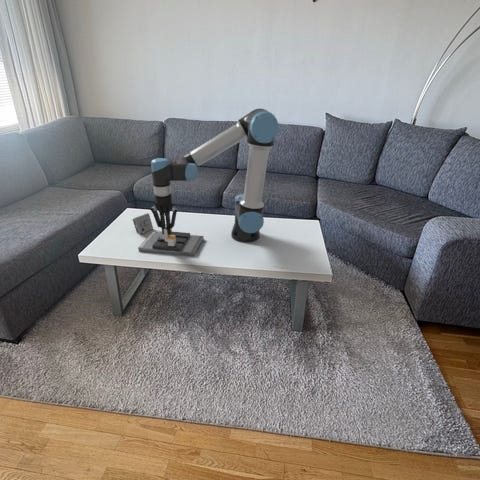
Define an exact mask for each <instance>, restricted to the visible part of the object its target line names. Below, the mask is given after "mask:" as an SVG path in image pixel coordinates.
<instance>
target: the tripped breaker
mask: <svg viewBox="0 0 480 480" xmlns="http://www.w3.org/2000/svg"><path fill="white" fill-rule="evenodd" d="M167 240H168V246H175V244H176V235H169V236H168V237H167Z"/></svg>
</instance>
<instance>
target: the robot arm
mask: <svg viewBox="0 0 480 480" xmlns="http://www.w3.org/2000/svg"><path fill="white" fill-rule="evenodd" d="M279 129H280V127H279V122H278V119H277V117H276V116H275V115H274V113H272V112H270V111H268V110H267V109H265V108H255V109H253V110H251V111H250V112H248V113H246V115H244V116H243V117H241V118H239V119H237V121H236V124H234V125H232V126H231V127H229V128H227V129H226V130H224V131H222V132H221V133H219V134H217V135H216V136H214V137H213V138H211V139H210V140H208V141H206V142H204V143H203V144H201V145H199V146H198V147H196V148H195V149H193V150H191V151H189V152H188V153H186V154H182V155H180V156H179V157H178V159H177V161H176V163H170V162H169V159H168V158H163V157H157V158H154V159H152V160H151V162H150V163H151V164H150V165H151V166H150V167H151V171H150V172H151V176H152V186H153V187H152V188H153V194H154V205H153V206H152V207H150V211H151V213H152V215H153V218H154V220H155V223H156V226H157V228H160V229H162V234H164V237H165V242H168V240H167V237H168V236H169V235H170V234H171V228H172V229H173V228H174V227H175V224H176V217H177V212H179V208H178V207H175V206H174V204H173V197H172V185H171V182H192V181H193V182H194V181H197V180H198V167H199V166H201V165H203V164H204V163H206V162H208V161H210V160H212V159H213V158H215V157H217V156H218V155H220V154H221V153H223V152H225V151H226V150H229V149H230V148H231V147H234V146H235V145H237V144H238V143H240V142H242V141H244V140H246V144H247V145H248V146H249V151H248V158H247V167H246V174H245V182H244V191H243V193H239V194H237V195H236V196H235V197H234V224H233V226H232V229H231V238H232V239H233V240H234V241H236V242H240V243H250V242H251V243H253V242H255V241H257V240H259V238H260V235H261V233H260V230H261V229H262V228H263V227H264V223H265V222H264V221H265V220H264V216H263V214H264V208H265V204H264V202H263V201H262V199H263V193H264V188H265V182H266V181H265V180H266V173H267V166H268V160H269V155H270V150H271V149H272V148H273V147H275V146H274V144H275V139H276V137H277V136H278V133H279ZM171 211H172V214H171ZM170 214H171V215H170ZM165 224H166V225H165ZM165 226H166V227H165Z"/></svg>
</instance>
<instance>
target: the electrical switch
mask: <svg viewBox="0 0 480 480" xmlns="http://www.w3.org/2000/svg"><path fill="white" fill-rule="evenodd" d="M132 222H133V225H134V228H135V231H136V233H138V235H142V234H144V233H148V232H149V231H152V230H153V229H154V226H153V223H152V222H153V221H152V218H151V215H150V213H144V214H142V215H138V216H136V217H134V218H133V219H132Z"/></svg>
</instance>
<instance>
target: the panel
mask: <svg viewBox="0 0 480 480" xmlns="http://www.w3.org/2000/svg"><path fill="white" fill-rule="evenodd" d="M170 235H176V244H175V246H168V242H165V239H160V233H159V231H152V232H151V233H149V235H148V236H147V237H146V238H145V240H143V242H142V243H141V244H139V247H137V248H138V252H140V253H141V252H142V253H151V254H152V253H154V254H162V255H163V254H165V255H174V256H187V257H193V258H194V257H196V255H197V253H198V251H199V249H200V247H201V245H202V244H203V242H204V241H205V240H204V239H205V238H204V235H196V234H191V233H190V232H182V231H172V232H171V234H170Z"/></svg>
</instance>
